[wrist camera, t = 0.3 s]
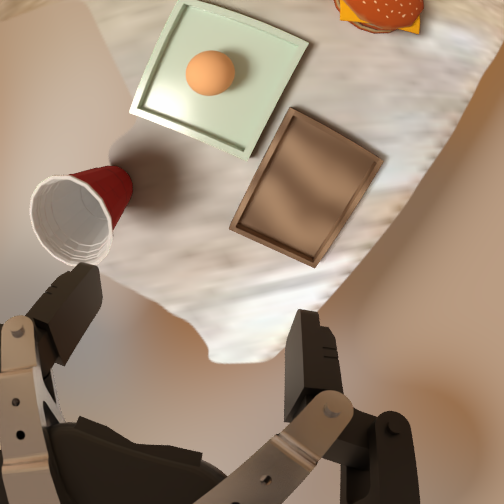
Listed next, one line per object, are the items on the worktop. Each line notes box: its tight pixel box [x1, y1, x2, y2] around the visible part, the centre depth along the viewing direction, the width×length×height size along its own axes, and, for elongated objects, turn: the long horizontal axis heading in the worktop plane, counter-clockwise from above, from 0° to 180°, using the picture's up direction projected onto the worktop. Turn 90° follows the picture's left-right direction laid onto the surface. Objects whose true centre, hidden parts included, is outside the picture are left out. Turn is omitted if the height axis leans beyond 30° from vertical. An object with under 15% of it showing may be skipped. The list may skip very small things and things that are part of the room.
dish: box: [129, 0, 309, 161], centre depth 29 cm, size 15×15×2 cm
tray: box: [229, 107, 384, 268], centre depth 35 cm, size 16×12×2 cm
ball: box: [186, 50, 235, 96], centre depth 27 cm, size 5×5×5 cm
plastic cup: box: [29, 166, 133, 267], centre depth 32 cm, size 11×11×12 cm
